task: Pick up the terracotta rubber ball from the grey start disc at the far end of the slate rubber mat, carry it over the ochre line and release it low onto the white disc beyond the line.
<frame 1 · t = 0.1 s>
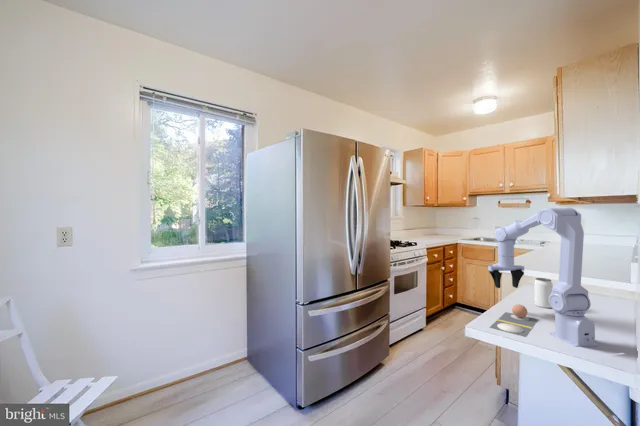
hand: (506, 287, 120), 10 cm above the table, tool pointing down, fingers open, 7 cm apart
ball: (519, 310, 111), point 3 cm above the table, touching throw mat
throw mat: (514, 324, 106), on the table
white disc: (510, 328, 101), resting on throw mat
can: (543, 306, 125), on the table
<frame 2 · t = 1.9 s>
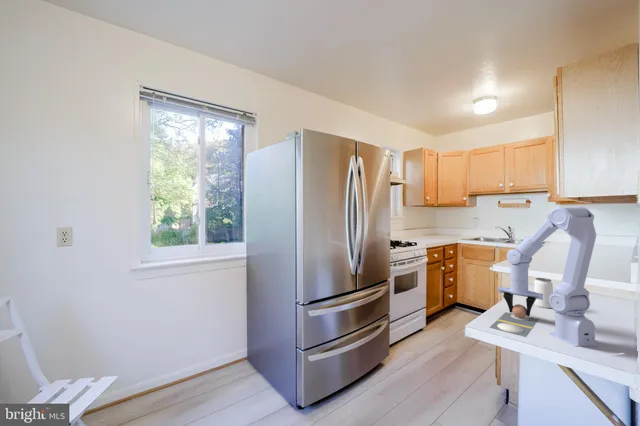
hand: (519, 313, 111), 2 cm above the table, tool pointing down, fingers closed on ball, 5 cm apart
ball: (519, 310, 111), point 3 cm above the table, touching gripper, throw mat
everything else where it was.
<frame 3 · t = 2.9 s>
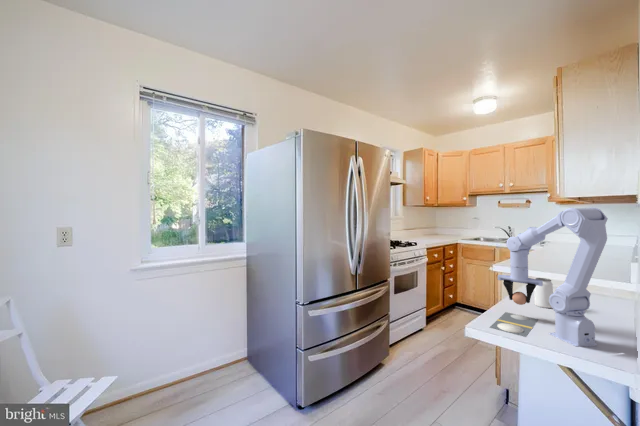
hand: (519, 300, 111), 7 cm above the table, tool pointing down, fingers closed on ball, 5 cm apart
ball: (519, 298, 111), point 8 cm above the table, touching gripper
everything else where it was.
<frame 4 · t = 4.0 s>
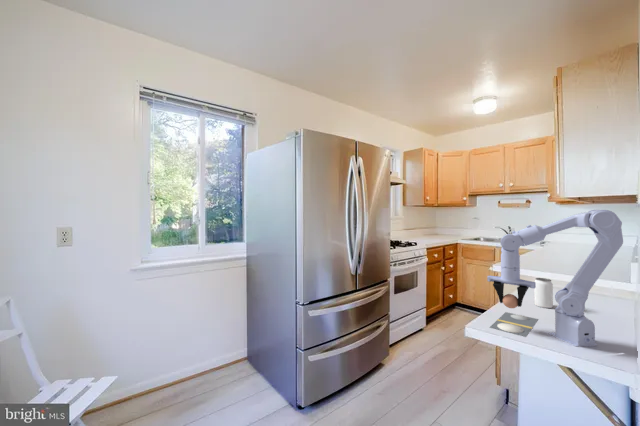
hand: (510, 304, 102), 9 cm above the table, tool pointing down, fingers closed on ball, 5 cm apart
ball: (510, 301, 102), point 10 cm above the table, touching gripper
everything else where it was.
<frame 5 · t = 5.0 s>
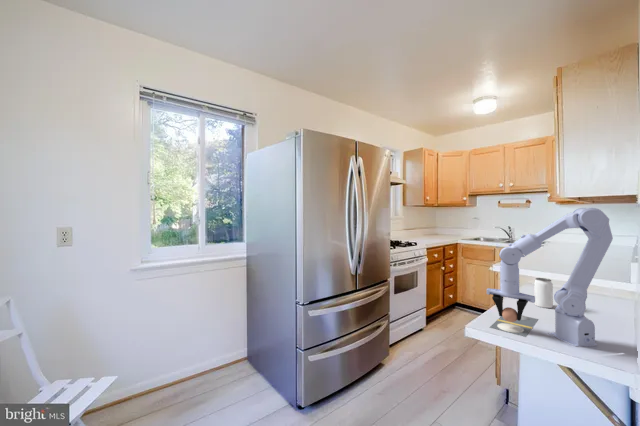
hand: (510, 317, 101), 4 cm above the table, tool pointing down, fingers closed on ball, 5 cm apart
ball: (509, 314, 101), point 5 cm above the table, touching gripper
everything else where it was.
when the fingers open (4 cm above the table, at t = 6.0 s): ball drops 2 cm, resting on white disc.
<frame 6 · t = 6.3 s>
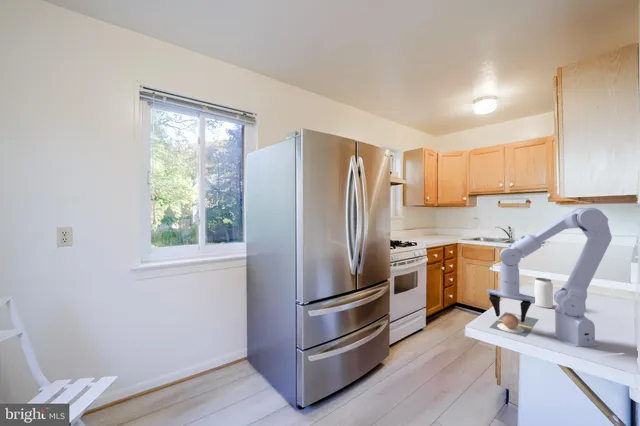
hand: (510, 318, 101), 4 cm above the table, tool pointing down, fingers open, 7 cm apart
ball: (510, 320, 101), point 3 cm above the table, touching white disc
everything else where it was.
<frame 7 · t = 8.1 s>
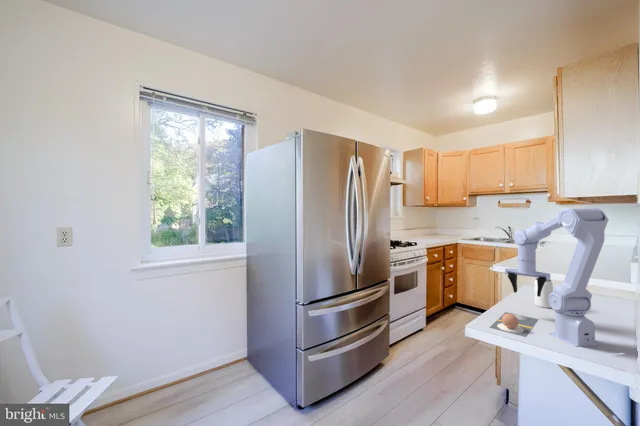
hand: (526, 293, 112), 9 cm above the table, tool pointing down, fingers open, 7 cm apart
nothing on the table moved.
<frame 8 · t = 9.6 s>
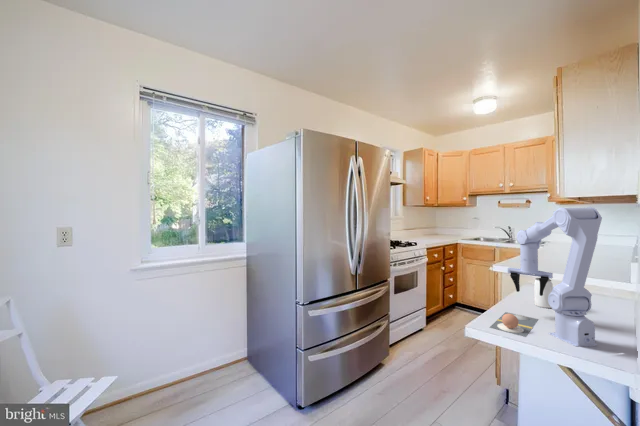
hand: (529, 293, 113), 9 cm above the table, tool pointing down, fingers open, 7 cm apart
nothing on the table moved.
at the end: ball 0.0 cm from the white disc (horizontally); the gripper is holding nothing; ball point 3.1 cm above the table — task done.
